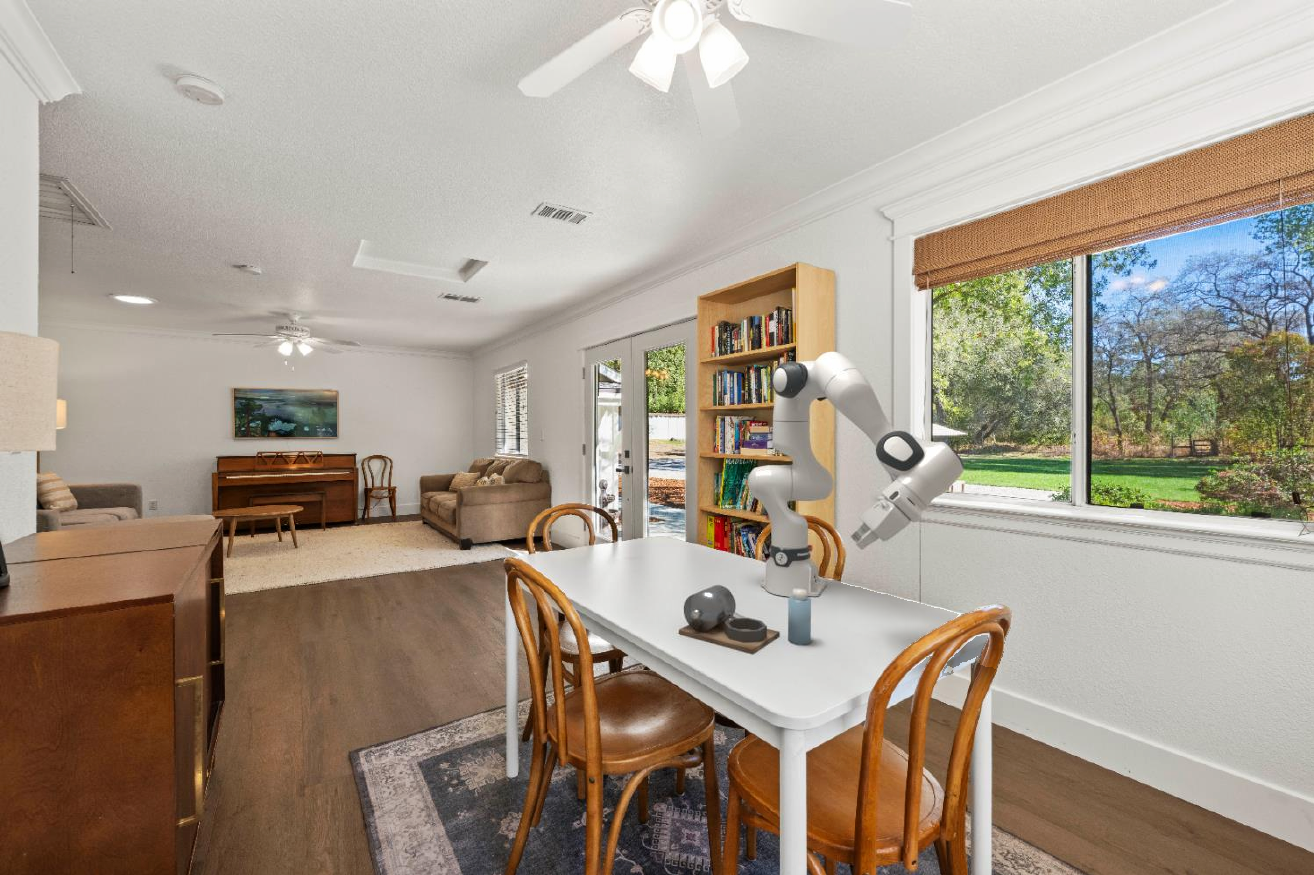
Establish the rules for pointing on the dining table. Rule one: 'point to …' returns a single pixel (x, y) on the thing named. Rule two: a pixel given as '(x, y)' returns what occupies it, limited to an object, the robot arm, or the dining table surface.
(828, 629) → the dining table surface
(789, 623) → the blue plastic bottle
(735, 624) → the collar
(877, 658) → the dining table surface
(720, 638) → the base plate
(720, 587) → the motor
